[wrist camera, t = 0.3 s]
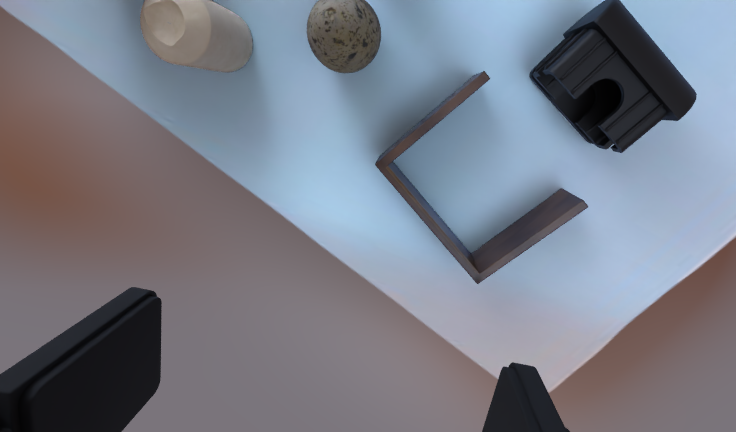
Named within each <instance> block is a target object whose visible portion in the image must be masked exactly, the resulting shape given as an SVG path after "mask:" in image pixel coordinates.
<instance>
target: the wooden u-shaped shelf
mask: <svg viewBox="0 0 736 432" xmlns="http://www.w3.org/2000/svg"><path fill="white" fill-rule="evenodd" d="M489 79H490V78H489V76H488V75H487V74H486V73H485V71H483V72H481V73H478V74H476V75H474V76H472V77H471V78H470V79H469V80H468V81H467V82H465V83H464V84H463V85H462V86H461V87H460V88H458V89H457V90H456V91H455V92H454V93H453V94H451V95H450V96H449V97H448V98H447V99H446V100H444V101H443V102H442V103H441V104H440V105H439V106H438V107H436V108H435V109H434V110H433V111H432V112H431V113H429V114H428V115H427V116H426V117H425V118H424V119H422V120H421V121H420V122H419V123H418V124H417V125H415V126H414V127H413V128H412V129H411V130H410V131H408V132H407V133H406V134H405V135H404V136H403V137H401V138H400V139H399V140H398V141H397V142H396V143H394V144H393V145H392V146H391V147H390V148H389V149H387V150H386V151H385V152H384V153H383V154H382V155H380V156H379V158H378V160H377V162H376V164H375V165H376V166H377V168H378V169H379V170H380V171H381V172H382V173H383V175H384V176H385V177H386V178H387V179H388V180H389V182H390V183H391V184H392V185H393V186H394V187H395V189H396V190H397V191H398V192H399V193H400V194H401V196H402V197H403V198H404V199H405V200H406V201H407V203H408V204H409V205H410V206H411V207H412V208H413V210H414V211H415V212H416V213H417V214H418V215H419V217H420V218H421V219H422V220H423V221H424V222H425V224H426V225H427V226H428V227H429V228H430V229H431V231H432V232H433V233H434V234H435V235H436V236H437V238H438V239H439V240H440V241H441V242H442V243H443V245H444V246H445V247H446V248H447V249H448V250H449V252H450V253H451V254H452V255H453V256H454V257H455V259H456V260H457V261H458V262H459V263H460V264H461V266H462V267H463V268H464V269H465V270H466V271H467V273H468V274H469V275H470V276H471V277H472V278H473V280H474V281H475V282H476V283H477V284H478V283H480V282H481V281H483V280H484V279H485V278H487V277H488V276H490V275H491V274H493V273H494V272H496V271H497V270H498V269H500V268H501V267H503V266H504V265H506V264H507V263H508V262H510V261H511V260H513V259H514V258H516V257H517V256H519V255H520V254H521V253H523V252H524V251H526V250H527V249H529V248H530V247H531V246H533V245H534V244H536V243H537V242H539V241H540V240H542V239H543V238H544V237H546V236H547V235H549V234H550V233H552V232H553V231H554V230H556V229H557V228H559V227H560V226H562V225H563V224H565V223H566V222H567V221H569V220H570V219H572V218H573V217H575V216H576V215H577V214H579V213H580V212H582V211H583V210H585V209H586V208H588V205H587V204H586V203H585V201H584V200H582V199H580V198H578V197H576V196H575V195H573V194H571V193H569V192H567V191H566V190H564V189H560V190H559V191H557V192H556V193H554V194H553V195H552V196H550V197H549V198H547V199H546V200H545V201H543V202H542V203H541V204H539V205H538V206H536V207H535V208H534V209H532V210H531V211H530V212H528V213H527V214H525V215H524V216H523V217H521V218H520V219H518V220H517V221H516V222H514V223H513V224H512V225H510V226H509V227H507V228H506V229H505V230H503V231H502V232H500V233H499V234H498V235H496V236H495V237H494V238H492V239H491V240H489V241H488V242H487V243H485V244H484V245H482V246H481V247H480V248H478V249H477V250H476V251H474V252H473V253H470V252H469V251H468V250H467V248H466V247H465V246H464V245H463V244H462V242H461V241H460V240H459V239H458V238H457V237H456V235H455V234H454V233H453V232H452V231H451V229H450V228H449V227H448V226H447V225H446V224H445V222H444V221H443V220H442V219H441V218H440V216H439V215H438V214H437V213H436V212H435V211H434V209H433V208H432V207H431V206H430V205H429V203H428V202H427V201H426V200H425V199H424V198H423V196H422V195H421V194H420V193H419V192H418V190H417V189H416V188H415V187H414V186H413V185H412V183H411V182H410V181H409V180H408V179H407V178H406V176H405V175H404V174H403V173H402V172H401V170H400V169H399V168H398V167H397V166H396V165H395V163H394V162H393V161H394V160H395V159H396V158H397V157H398V156H400V155H401V154H402V153H403V152H404V151H405V150H407V149H408V148H409V147H410V146H411V145H413V144H414V143H415V142H416V141H417V140H418V139H420V138H421V137H422V136H423V135H424V134H426V133H427V132H428V131H429V130H430V129H431V128H433V127H434V126H435V125H436V124H437V123H439V122H440V121H441V120H442V119H443V118H444V117H446V116H447V115H448V114H449V113H450V112H452V111H453V110H454V109H455V108H456V107H457V106H459V105H460V104H461V103H462V102H463V101H465V100H466V99H467V98H468V97H469V96H470V95H472V94H473V93H474V92H475V91H476V90H478V89H479V88H480V87H481V86H482V85H483V84H485V83H486V82H487V81H488V80H489Z"/></svg>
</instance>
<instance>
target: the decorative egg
mask: <svg viewBox="0 0 736 432" xmlns="http://www.w3.org/2000/svg"><path fill="white" fill-rule="evenodd" d="M307 36H308V41H309V44H310V47H311V49H312V51H313V53H314V55H315V56H316V57H317V59H318V60H319V61H320V62H321V63H322V64H323V65H324V66H326V67H327V68H329V69H331V70H333V71H336V72H340V73H353V72H356V71H359V70H361V69H363V68H365V67H366V66H367V65H368V64H369V63H370V62H371V61H372V60H373V59H374V57H375V56H376V54H377V52H378V49H379V46H380V41H381V28H380V23H379V20H378V17H377V15H376V13H375V12H374V10H373V9H372V7H371V6H370V5H369V4H368V3H367V2H366V1H365V0H319V1H318V2H317V3H316V4H315V5H314V7H313V8H312V10H311V12H310V15H309V18H308V23H307Z"/></svg>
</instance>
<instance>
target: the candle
mask: <svg viewBox="0 0 736 432" xmlns="http://www.w3.org/2000/svg"><path fill="white" fill-rule="evenodd" d="M140 25H141V30H142V34H143V37H144V39H145V41H146V43H147V45H148V46H149V48H150V49H151V50H152V52H153V53H154V54H155V55H157V56H158V57H159V58H160V59H162V60H164V61H166V62H168V63H171V64H176V65H182V66H188V67H194V68H199V69H205V70H211V71H217V72H234V71H237V70H239V69H240V68H242V67H243V66H244V65H245V64H246V63H247V62H248V60H249V59H250V56H251V53H252V49H253V40H252V35H251V32H250V29H249V27H248V26H247V24H246V23H245V22H244V20H243V19H242V18H241V17H239V16H238V15H237V14H235V13H234V12H232V11H230V10H228V9H226V8H224V7H223V6H221V5H219V4H217V3H215V2H213V1H211V0H145V1H144V3H143V6H142V9H141V14H140Z"/></svg>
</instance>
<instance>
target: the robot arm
mask: <svg viewBox="0 0 736 432" xmlns="http://www.w3.org/2000/svg"><path fill="white" fill-rule="evenodd" d="M160 367H161V299H160V298H158V297H157V295H156V293H155V292H154V291H151V290H146V289H141V288H136V287H131V288H129V289H128V290H126V291H125V292H123V293H122V294H120V295H119V296H117V297H116V298H114V299H113V300H111V301H110V302H108V303H107V304H105V305H104V306H102V307H101V308H99V309H98V310H96V311H95V312H93V313H92V314H90V315H89V316H87V317H86V318H84V319H83V320H81V321H80V322H78V323H77V324H75V325H74V326H72V327H71V328H69V329H68V330H66V331H65V332H63V333H62V334H60V335H59V336H57V337H56V338H54V339H53V340H51V341H50V342H48V343H47V344H45V345H44V346H42V347H41V348H39V349H38V350H36V351H35V352H33V353H32V354H30V355H29V356H27V357H26V358H24V359H23V360H21V361H20V362H18V363H17V364H15V365H14V366H12V367H11V368H9V369H8V370H6V371H5V372H3V373H2V374H0V432H121V431H122V430H123V429H124V428H125V427H126V426H127V424H128V423H129V422H130V421H131V420H132V419H133V418H134V417H135V415H136V414H137V413H138V412H139V411H140V410H141V409H142V407H143V406H144V405H145V404H146V403H147V402H148V400H149V399H150V398H151V397H152V396H153V395H154V393H155V392H156V390H157V388H158V386H159V383H160V372H161V371H160V369H161V368H160ZM482 432H570V431H569V430H568V429H567V428H565V427H564V424H563V422H562V420H561V418H560V416H559V414H558V412H557V410H556V408H555V406H554V404H553V402H552V400H551V398H550V396H549V394H548V392H547V390H546V388H545V386H544V383H543V381H542V379H541V377H540V375H539V373H538V371H537V369H536V368H535V367H533V366H528V365H523V364H518V363H511V364H510V365H509V367H503V368H502V370H501V373H500V376H499V379H498V383H497V386H496V389H495V392H494V395H493V398H492V402H491V405H490V408H489V411H488V414H487V418H486V421H485V424H484V427H483V431H482Z"/></svg>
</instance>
